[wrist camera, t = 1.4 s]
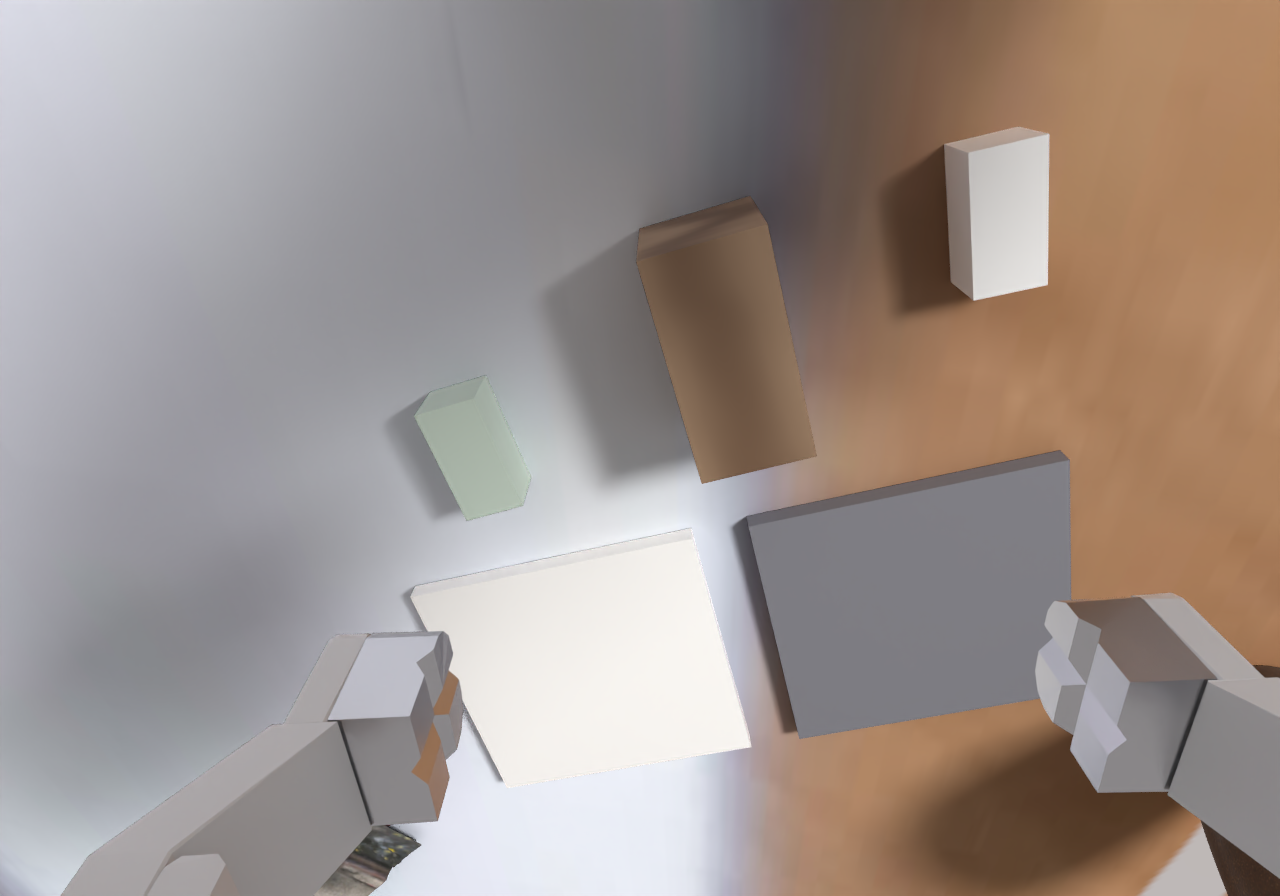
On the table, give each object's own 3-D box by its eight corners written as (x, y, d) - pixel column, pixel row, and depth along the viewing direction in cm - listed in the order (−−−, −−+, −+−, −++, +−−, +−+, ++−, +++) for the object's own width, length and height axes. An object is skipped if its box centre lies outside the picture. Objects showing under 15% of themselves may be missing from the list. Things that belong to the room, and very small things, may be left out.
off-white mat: (691, 527, 41) (692, 538, 40) (749, 734, 48) (751, 747, 47) (415, 586, 43) (410, 597, 42) (509, 775, 51) (507, 788, 50)
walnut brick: (749, 195, 33) (767, 224, 28) (794, 398, 38) (816, 456, 32) (639, 227, 34) (635, 261, 29) (695, 423, 38) (702, 483, 33)
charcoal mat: (1060, 450, 39) (1069, 460, 38) (1064, 680, 46) (1072, 692, 45) (746, 516, 41) (748, 526, 40) (796, 726, 48) (799, 738, 47)
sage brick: (430, 390, 38) (413, 416, 35) (486, 373, 38) (473, 398, 35) (479, 490, 41) (466, 521, 38) (531, 475, 40) (522, 505, 37)
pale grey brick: (942, 143, 32) (968, 152, 30) (1016, 126, 32) (1049, 133, 29) (949, 280, 35) (973, 300, 32) (1017, 266, 35) (1047, 284, 32)
